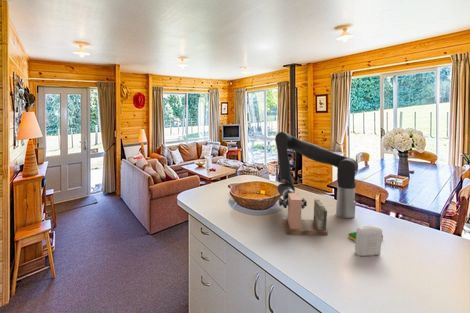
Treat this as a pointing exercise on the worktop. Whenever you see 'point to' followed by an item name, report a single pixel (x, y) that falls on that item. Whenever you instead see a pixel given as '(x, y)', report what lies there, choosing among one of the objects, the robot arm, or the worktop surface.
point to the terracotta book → (294, 210)
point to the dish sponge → (353, 236)
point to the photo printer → (368, 240)
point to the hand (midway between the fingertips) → (294, 206)
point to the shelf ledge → (311, 222)
